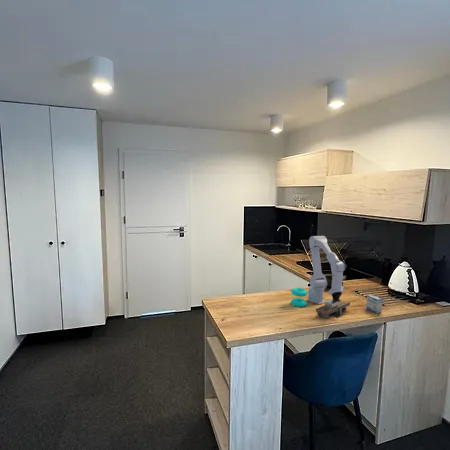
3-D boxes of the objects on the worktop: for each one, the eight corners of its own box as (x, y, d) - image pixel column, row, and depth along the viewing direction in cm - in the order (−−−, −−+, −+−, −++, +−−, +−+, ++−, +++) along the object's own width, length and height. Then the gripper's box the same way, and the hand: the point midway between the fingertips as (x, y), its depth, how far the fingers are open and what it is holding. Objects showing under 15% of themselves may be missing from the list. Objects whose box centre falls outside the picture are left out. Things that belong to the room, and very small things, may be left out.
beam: (315, 314, 179) (315, 308, 179) (339, 304, 196) (339, 298, 195) (326, 318, 174) (326, 312, 174) (349, 308, 190) (350, 302, 190)
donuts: (289, 290, 195) (294, 286, 203) (288, 305, 196) (294, 300, 204) (304, 293, 189) (309, 289, 198) (303, 308, 190) (308, 304, 199)
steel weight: (324, 308, 182) (325, 301, 182) (330, 305, 187) (330, 299, 186) (331, 310, 179) (332, 304, 179) (337, 307, 184) (337, 301, 183)
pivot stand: (321, 311, 187) (321, 305, 186) (335, 305, 197) (336, 299, 196) (337, 317, 178) (338, 311, 178) (351, 311, 188) (352, 305, 188)
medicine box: (366, 308, 194) (367, 295, 193) (371, 307, 195) (372, 294, 194) (376, 313, 186) (377, 299, 185) (381, 312, 188) (382, 298, 187)
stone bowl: (347, 292, 224) (347, 280, 223) (312, 290, 232) (312, 278, 231) (346, 282, 247) (346, 271, 246) (314, 281, 255) (313, 270, 254)
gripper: (336, 285, 176) (335, 308, 178) (349, 281, 186) (347, 302, 187) (325, 282, 182) (324, 304, 183) (338, 278, 191) (337, 299, 193)
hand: (335, 303), depth 186 cm, fingers closed
